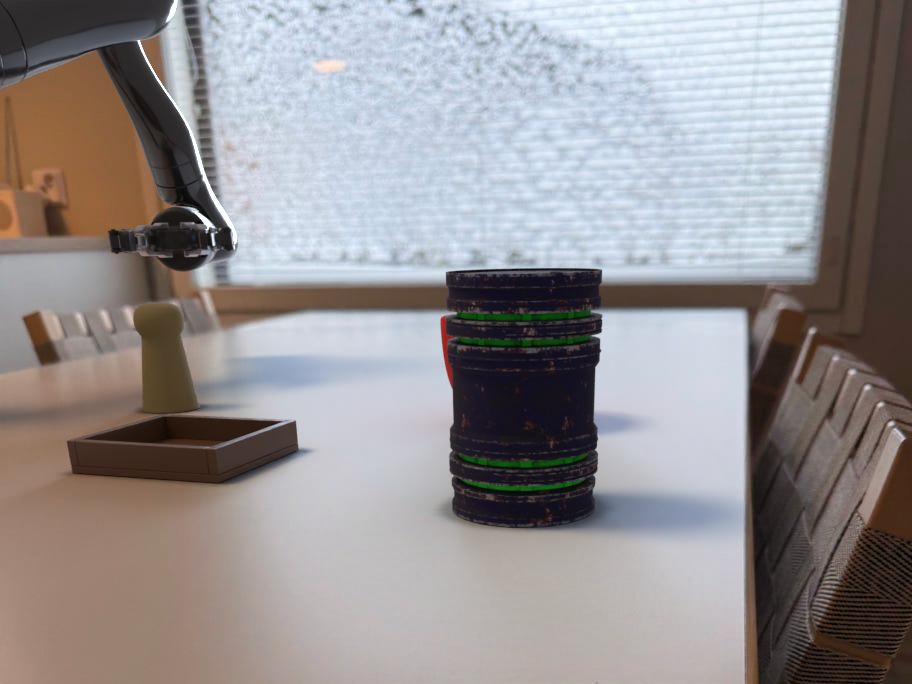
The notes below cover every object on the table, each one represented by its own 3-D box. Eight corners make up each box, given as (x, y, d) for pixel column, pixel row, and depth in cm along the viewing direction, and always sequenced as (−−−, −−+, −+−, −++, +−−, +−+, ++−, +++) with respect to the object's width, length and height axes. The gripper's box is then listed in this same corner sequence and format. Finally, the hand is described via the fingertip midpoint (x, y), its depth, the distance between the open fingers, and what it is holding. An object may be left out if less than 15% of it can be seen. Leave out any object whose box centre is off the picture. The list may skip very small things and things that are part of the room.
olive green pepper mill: (131, 412, 103) (114, 304, 99) (161, 403, 109) (146, 301, 104) (182, 413, 102) (167, 305, 98) (209, 404, 107) (196, 301, 103)
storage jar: (421, 506, 65) (411, 272, 59) (526, 482, 71) (527, 267, 65) (518, 537, 58) (518, 275, 52) (627, 508, 64) (638, 269, 58)
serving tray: (72, 473, 76) (66, 440, 75) (166, 442, 87) (162, 413, 86) (219, 483, 72) (214, 449, 71) (299, 450, 83) (296, 420, 82)
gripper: (122, 208, 121) (94, 205, 106) (236, 206, 123) (225, 203, 108) (132, 272, 124) (106, 277, 109) (243, 268, 126) (233, 273, 111)
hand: (165, 240), depth 109 cm, fingers open, 8 cm apart
